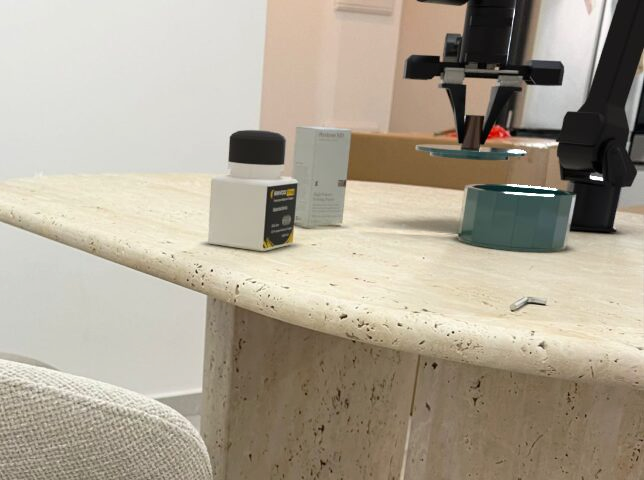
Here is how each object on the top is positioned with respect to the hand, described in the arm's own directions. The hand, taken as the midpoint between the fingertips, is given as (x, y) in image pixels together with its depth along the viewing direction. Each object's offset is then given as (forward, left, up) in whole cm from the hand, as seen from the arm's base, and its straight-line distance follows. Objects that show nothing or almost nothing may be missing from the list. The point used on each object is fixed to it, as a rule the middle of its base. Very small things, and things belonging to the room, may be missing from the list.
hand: (470, 144), depth 120 cm
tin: (-5, +8, -11) cm, 15 cm away
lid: (0, 0, -1) cm, 1 cm away
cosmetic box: (+19, +3, -11) cm, 22 cm away
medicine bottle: (+26, +23, -11) cm, 36 cm away
